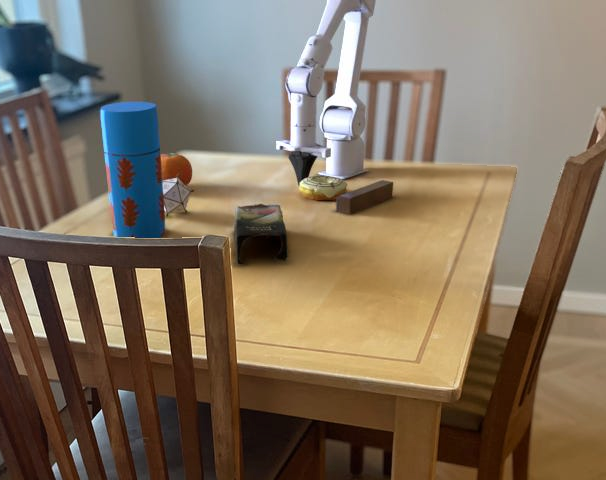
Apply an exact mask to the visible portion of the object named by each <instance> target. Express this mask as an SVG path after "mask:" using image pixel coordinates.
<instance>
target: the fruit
mask: <svg viewBox="0 0 606 480" xmlns="http://www.w3.org/2000/svg"><path fill="white" fill-rule="evenodd" d="M161 168H162V180H167V179H172V178H177V175H178V174H179V177H178V178H179V179H180V180H181V181H182V182H183V183H184V184H185V185H186V186H187V187H188V185H189V184H190V183H191V181H192V178H193V166H192V164H191V162H190V161H189V159H188V158H187V157H185V156H184V155H181V154H179V153H175V152H170V153H163V154H162V153H161Z"/></svg>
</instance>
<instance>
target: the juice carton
mask: <svg viewBox="0 0 606 480" xmlns="http://www.w3.org/2000/svg"><path fill="white" fill-rule="evenodd" d="M234 207H235V208H234V221H233V222H234V223H233V231H232V232H233V233H232V235H233V241H234V249H235V257H236V263H237V264H238V265H241V264H243V262H241V260H240V256H241V251H242V248H243V244H244V243H245V241H246V240H247V239H250V238H254V237H260V236H263V235H265V236H266V237H268V238H269V237H272V236H273V237H274V236H275V237H276V236H277V237H278V236H279V237H280V240H279V243H281V247H280V250H279V251H278V252H277V254H276V255H275V256H274V257H275V258H274V259H276V260H279V261H287V259H288V257H289V251H288V250H289V249H288V248H289V247H288V233H287V229H286V228H287V227H286V224H285V221H284V215H283V211H282V207H281V205H280V204H273V203H271V204H264V203H256V204H253V205H250V204H249V205H242V206H241V205H240V206H239V205H236V206H234Z"/></svg>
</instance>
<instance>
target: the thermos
mask: <svg viewBox="0 0 606 480" xmlns="http://www.w3.org/2000/svg"><path fill="white" fill-rule="evenodd" d="M100 124H101V125H100V126H101V134H102V143H103V151H104V152H103V153H104V162H105V171H106V180H107V191H108V199H109V209H110V219H111V225H112V231H113V237H114V236H116V237H135V238H160V239H162V238H163V237H164V236H165V235H166V212H165V210H164V196H163V182H162V168H161V155H162V153H161V143H160V128H159V127H160V126H159V113H158V108H157V105H156V103H153V102H149V101H123V102H113V103H109V104H105V105H102V106H101V107H100Z"/></svg>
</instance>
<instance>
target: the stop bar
mask: <svg viewBox="0 0 606 480" xmlns="http://www.w3.org/2000/svg"><path fill="white" fill-rule="evenodd" d="M393 191H394V181H390V180H385V179H381V180H378V181H376V182H373V183H370V184H367V185H365V186H362V187H359V188H356V189H354V190H351V191H348V192H346V194H343V195H340V196H339V197H337V199H336V202H335V203H336V205H335V207H336V208H335V212H336V213H337V212H338V213H342V214H346V215H352V214H354V213H357V212H359V211H362V210H364V209H367V208H369V207H372V206H375V205H377V204H379V203H382V202H384V201H387V200H390V199H392V198H393V193H394V192H393Z"/></svg>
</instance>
